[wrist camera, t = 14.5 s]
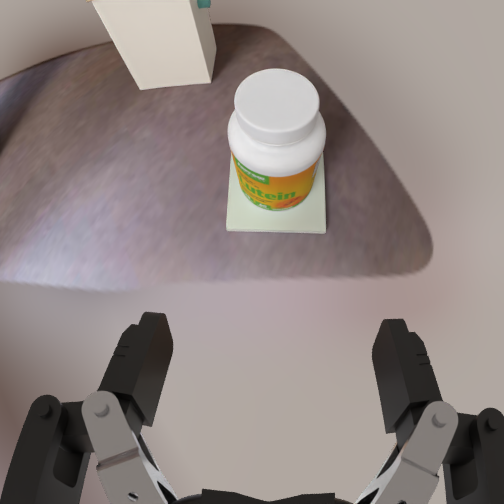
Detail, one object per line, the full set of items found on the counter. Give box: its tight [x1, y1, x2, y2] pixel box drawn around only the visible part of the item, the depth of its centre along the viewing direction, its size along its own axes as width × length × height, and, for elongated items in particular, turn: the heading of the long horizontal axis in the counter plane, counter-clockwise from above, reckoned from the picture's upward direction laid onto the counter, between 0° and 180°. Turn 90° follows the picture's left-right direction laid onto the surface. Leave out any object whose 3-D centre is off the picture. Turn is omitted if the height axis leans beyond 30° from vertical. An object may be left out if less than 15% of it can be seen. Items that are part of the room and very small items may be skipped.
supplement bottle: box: [228, 69, 326, 212], centre depth 18 cm, size 5×5×10 cm
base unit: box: [86, 0, 217, 90], centre depth 20 cm, size 8×5×13 cm
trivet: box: [226, 152, 326, 234], centre depth 23 cm, size 7×8×1 cm
